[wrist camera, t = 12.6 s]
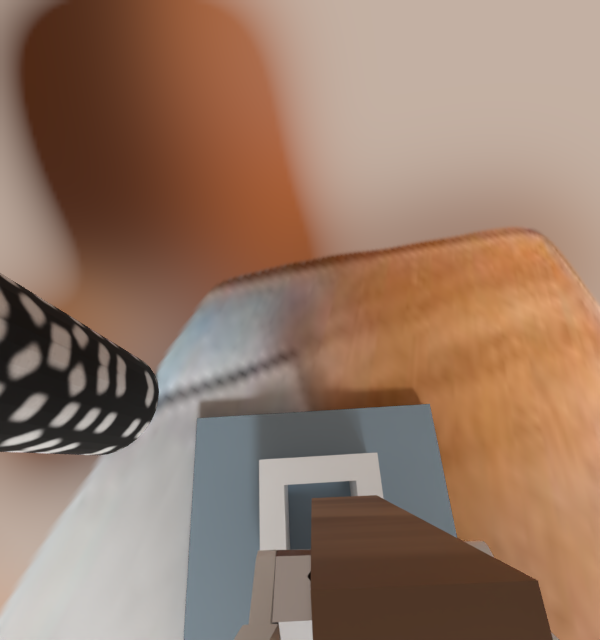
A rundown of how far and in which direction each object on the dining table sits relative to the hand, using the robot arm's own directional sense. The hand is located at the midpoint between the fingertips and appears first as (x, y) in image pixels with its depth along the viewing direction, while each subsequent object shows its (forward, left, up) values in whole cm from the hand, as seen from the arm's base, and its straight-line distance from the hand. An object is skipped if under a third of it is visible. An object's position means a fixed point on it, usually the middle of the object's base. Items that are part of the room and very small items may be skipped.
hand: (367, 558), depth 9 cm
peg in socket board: (-1, +1, -17) cm, 17 cm away
